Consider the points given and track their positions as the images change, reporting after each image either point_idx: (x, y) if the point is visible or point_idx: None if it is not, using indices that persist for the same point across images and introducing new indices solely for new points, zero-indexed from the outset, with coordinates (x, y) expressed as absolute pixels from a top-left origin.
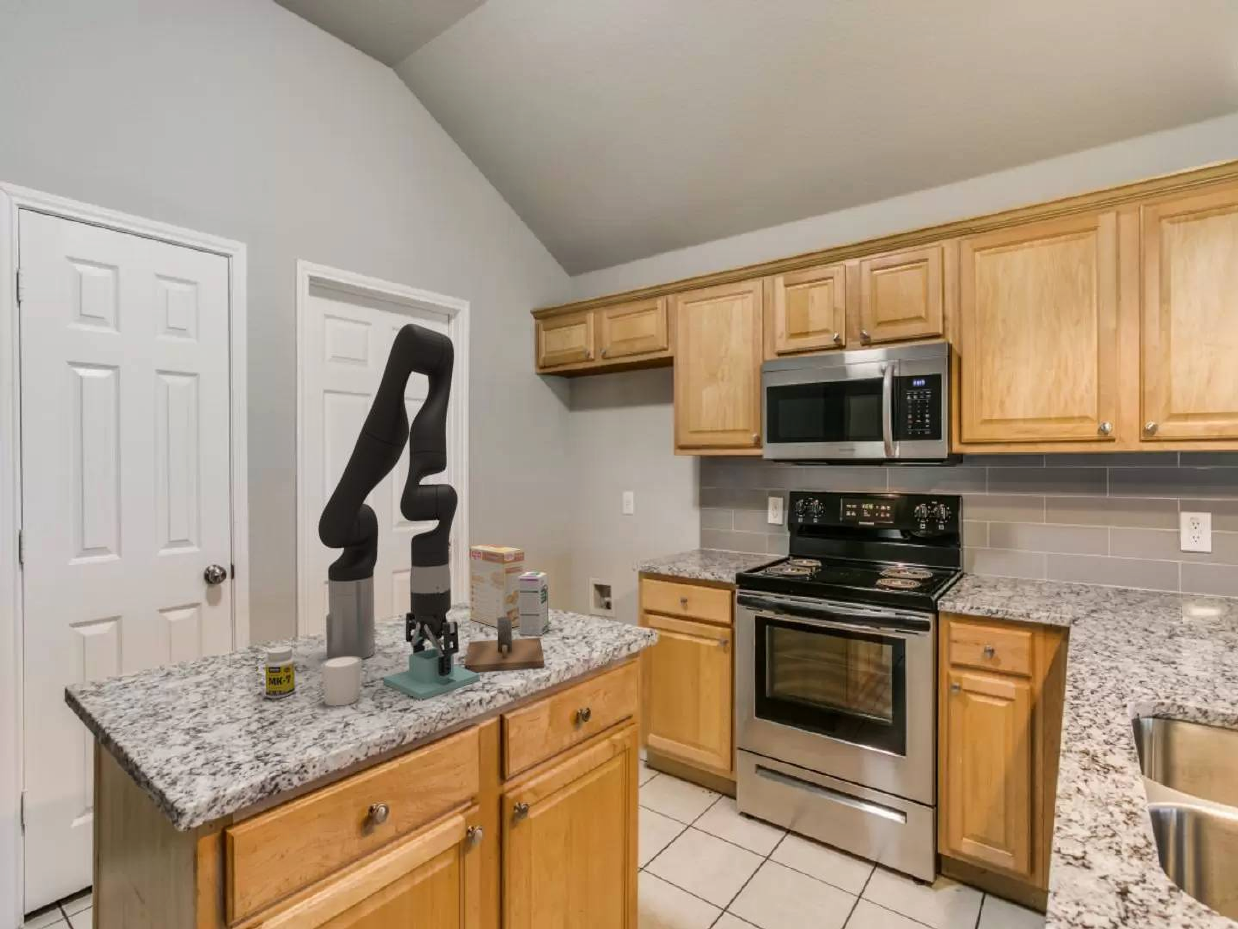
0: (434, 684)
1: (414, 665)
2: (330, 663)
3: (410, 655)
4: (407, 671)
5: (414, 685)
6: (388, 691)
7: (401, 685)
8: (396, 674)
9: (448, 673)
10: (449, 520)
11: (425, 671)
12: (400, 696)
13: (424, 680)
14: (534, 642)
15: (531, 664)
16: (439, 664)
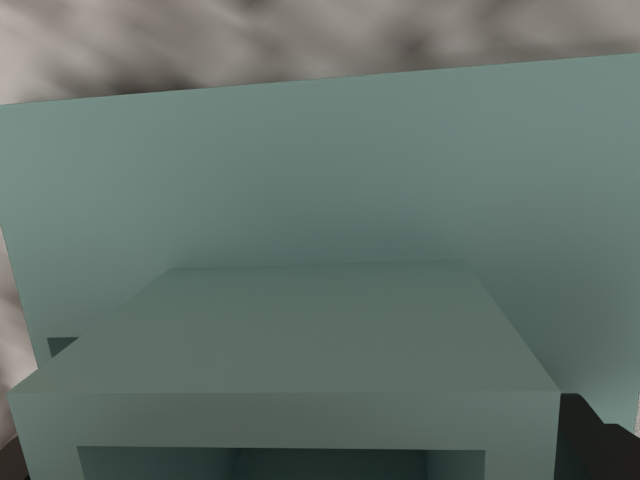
0: (112, 303)
1: (368, 320)
2: None
3: (502, 390)
4: (615, 322)
5: (209, 174)
6: (414, 4)
7: (297, 81)
8: (636, 204)
9: None
10: None
11: (129, 315)
12: (219, 28)
13: (195, 275)
14: None
15: None
16: (6, 474)
